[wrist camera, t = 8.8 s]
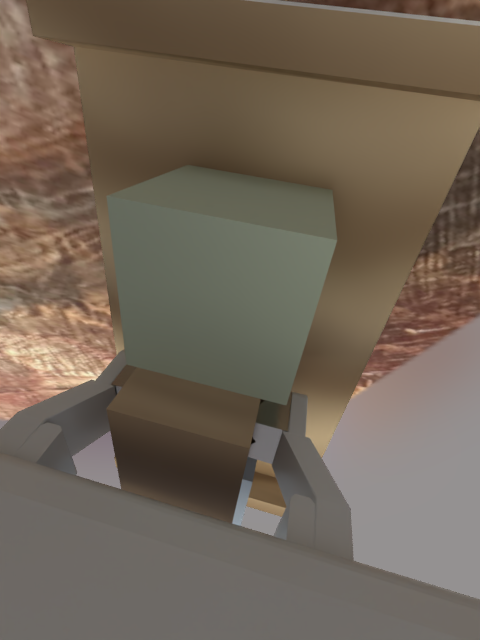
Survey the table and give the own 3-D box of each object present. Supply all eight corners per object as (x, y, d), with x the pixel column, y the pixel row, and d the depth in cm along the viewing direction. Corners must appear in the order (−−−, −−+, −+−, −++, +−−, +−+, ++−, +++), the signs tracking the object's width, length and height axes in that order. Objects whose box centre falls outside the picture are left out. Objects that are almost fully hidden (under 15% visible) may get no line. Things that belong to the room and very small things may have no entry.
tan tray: (109, 15, 10) (-314, -175, 3) (479, 60, 9) (971, -106, 2) (144, 419, 21) (64, 555, 15) (305, 464, 20) (296, 634, 13)
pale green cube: (188, 164, 10) (106, 195, 6) (332, 189, 9) (337, 240, 6) (185, 289, 12) (126, 364, 9) (298, 314, 12) (286, 405, 8)
